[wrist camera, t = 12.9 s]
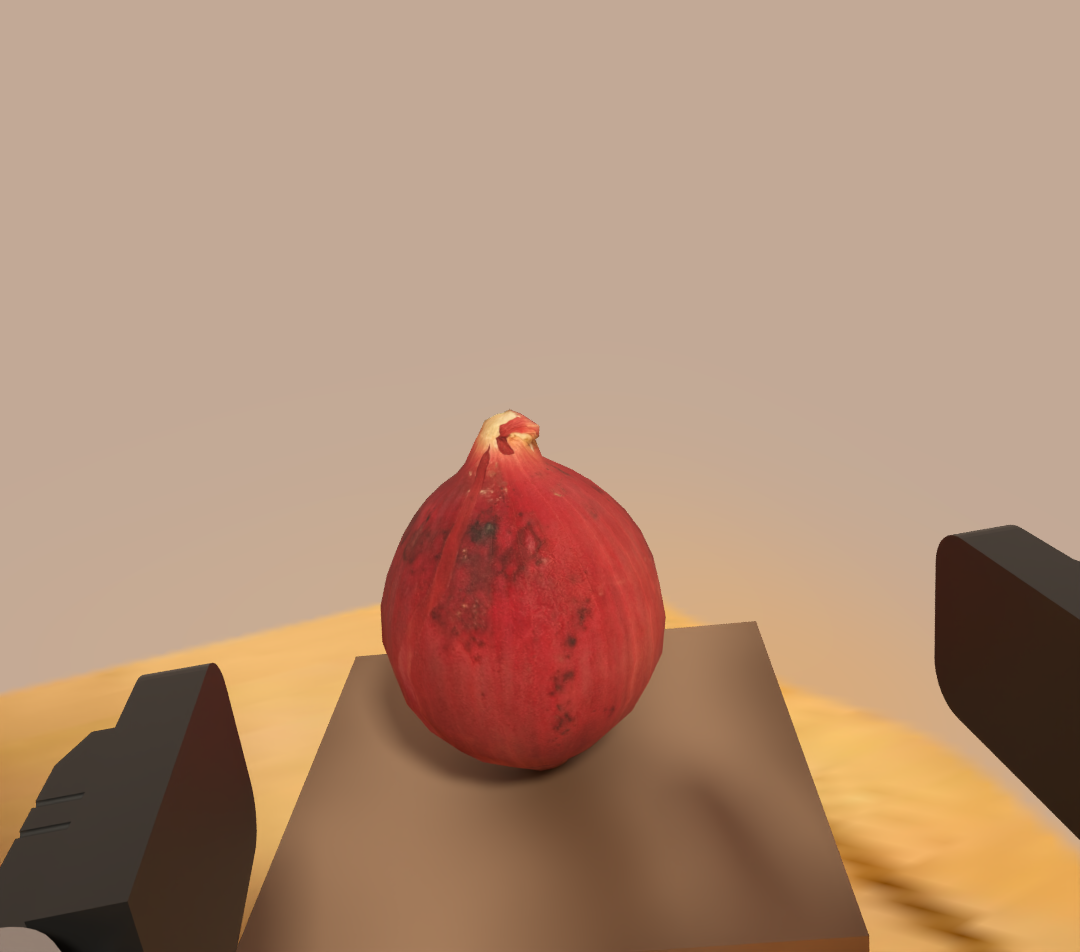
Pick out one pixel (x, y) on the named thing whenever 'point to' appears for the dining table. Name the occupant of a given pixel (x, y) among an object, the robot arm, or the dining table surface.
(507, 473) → the onion
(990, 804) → the dining table surface
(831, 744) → the dining table surface
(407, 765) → the walnut block
